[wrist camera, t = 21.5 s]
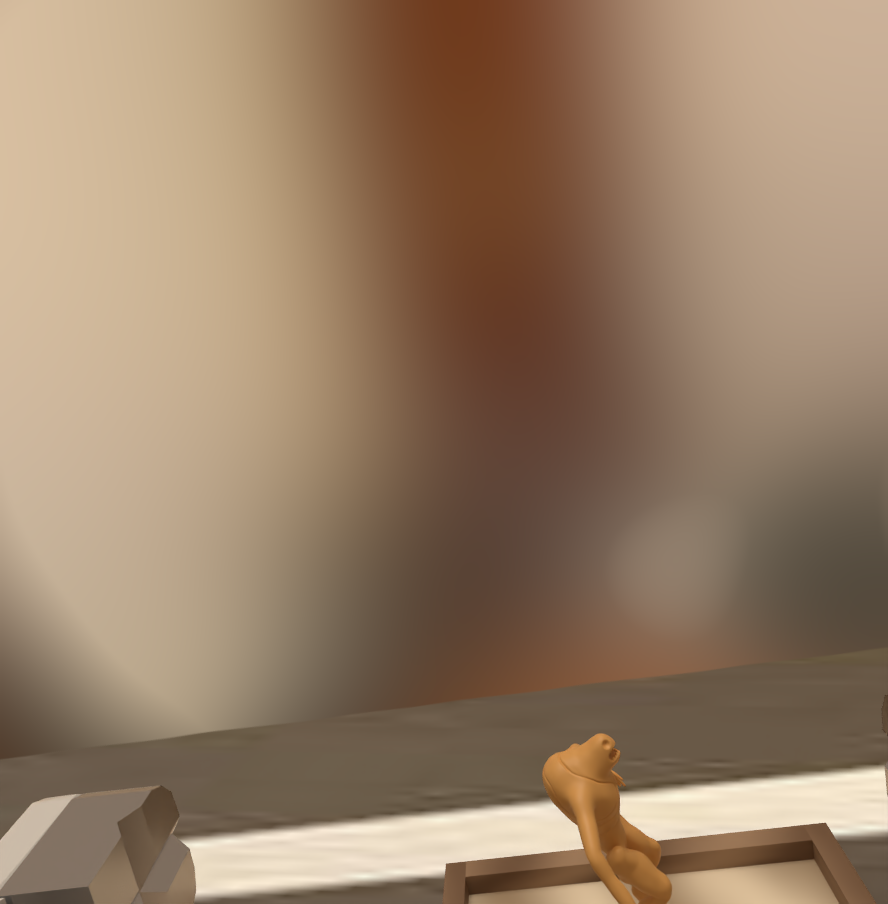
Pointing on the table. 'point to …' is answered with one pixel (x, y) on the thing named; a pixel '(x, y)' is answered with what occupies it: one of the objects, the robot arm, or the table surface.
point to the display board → (679, 872)
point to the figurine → (605, 821)
